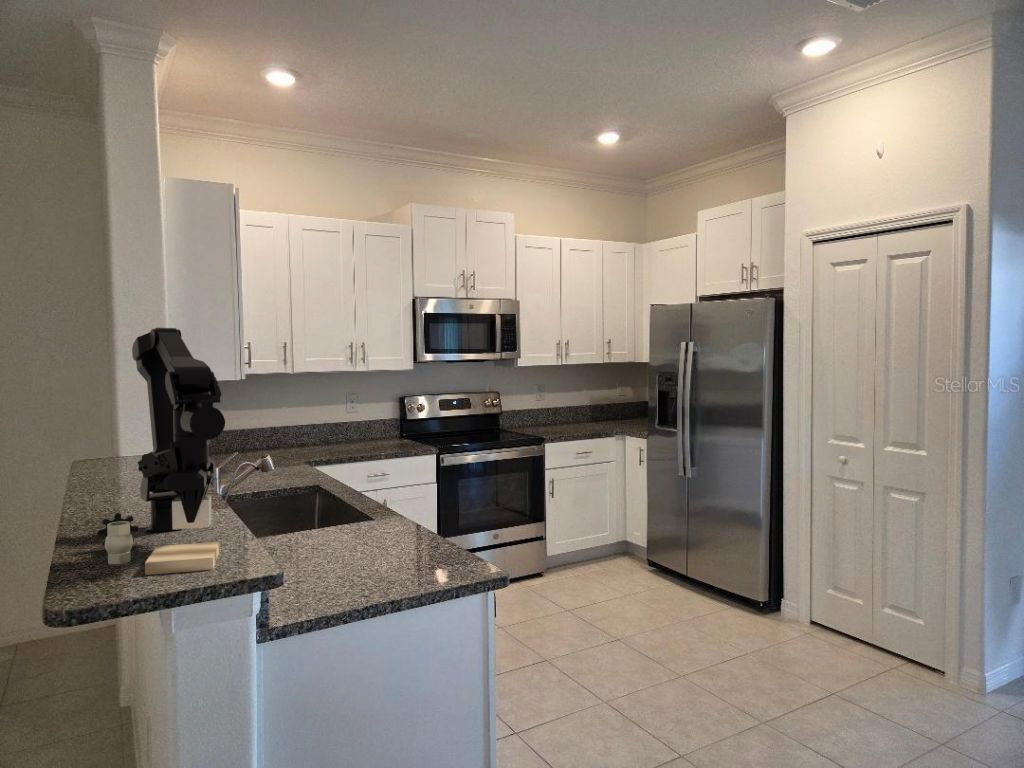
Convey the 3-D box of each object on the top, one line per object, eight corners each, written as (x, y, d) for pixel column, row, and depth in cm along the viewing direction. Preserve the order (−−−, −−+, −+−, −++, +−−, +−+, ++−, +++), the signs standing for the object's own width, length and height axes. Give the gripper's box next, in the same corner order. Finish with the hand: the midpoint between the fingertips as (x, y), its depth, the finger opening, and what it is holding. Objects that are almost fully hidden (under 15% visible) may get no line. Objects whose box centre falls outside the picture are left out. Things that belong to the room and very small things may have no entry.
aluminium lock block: (176, 524, 127) (175, 497, 127) (211, 522, 129) (211, 495, 129) (172, 529, 123) (172, 501, 123) (209, 527, 125) (208, 499, 125)
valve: (141, 562, 118) (138, 545, 128) (141, 523, 118) (138, 510, 128) (96, 568, 114) (97, 550, 125) (95, 528, 114) (96, 514, 125)
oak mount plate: (157, 557, 120) (156, 546, 120) (219, 552, 123) (219, 541, 123) (145, 575, 111) (144, 562, 110) (212, 569, 114) (212, 557, 113)
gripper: (151, 430, 132) (153, 511, 133) (129, 442, 114) (131, 536, 115) (215, 428, 135) (216, 507, 136) (203, 440, 117) (204, 531, 118)
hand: (192, 519), depth 126 cm, fingers closed on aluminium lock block, 4 cm apart
